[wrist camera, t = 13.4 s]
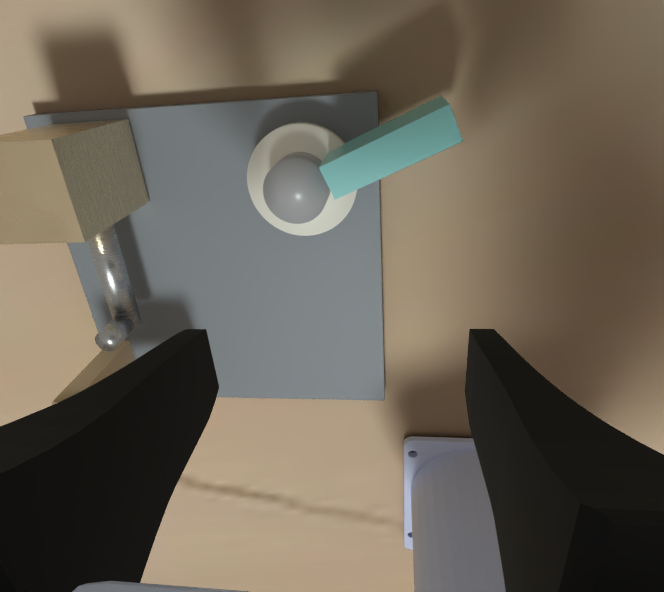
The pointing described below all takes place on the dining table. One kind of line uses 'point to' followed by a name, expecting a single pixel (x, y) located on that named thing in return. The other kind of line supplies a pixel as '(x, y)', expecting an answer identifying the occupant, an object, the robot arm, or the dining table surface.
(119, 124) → the beige rectangular block
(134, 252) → the grey dial panel
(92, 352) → the dining table surface
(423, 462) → the robot arm
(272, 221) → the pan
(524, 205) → the dining table surface
